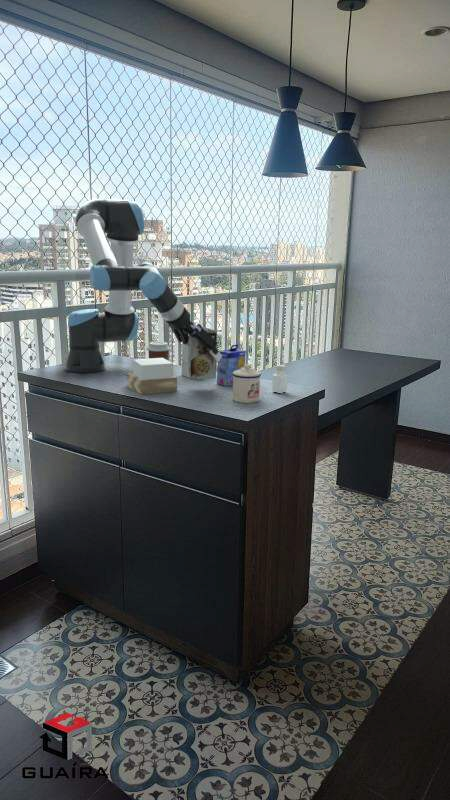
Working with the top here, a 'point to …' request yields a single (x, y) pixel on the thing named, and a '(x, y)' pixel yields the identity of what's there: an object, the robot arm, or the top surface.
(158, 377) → the tower top
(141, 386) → the tower base
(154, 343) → the coffee cup
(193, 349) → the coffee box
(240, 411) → the top surface
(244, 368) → the teacup with lid
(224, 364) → the blue upright box
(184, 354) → the small box
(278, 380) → the pepper shaker
